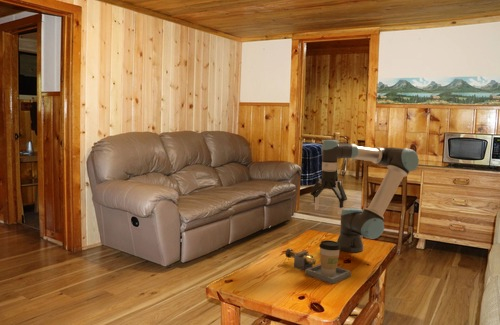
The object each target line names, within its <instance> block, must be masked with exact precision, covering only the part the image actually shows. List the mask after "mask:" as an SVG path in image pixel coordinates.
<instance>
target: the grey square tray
mask: <svg viewBox="0 0 500 325" xmlns="http://www.w3.org/2000/svg"><path fill="white" fill-rule="evenodd" d="M304 273H305V275H306V276H309V277H311V278H313V279H317V280H318V281H322V282H325V283H326V284H329V285H335V284H337V283H339V282H341V281H343V280H346V279H348V278H350V277H351V276H352V271H351V270H348V269H345V268H343V267H339V266H337V268H336V273H335V276H333V277H329V276H326V275H323V274H322V271H321V263H320V264H317V265H313V267H311V268H308V269H306V270H305V272H304Z"/></svg>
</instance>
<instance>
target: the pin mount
mask: <svg viewBox="0 0 500 325" xmlns="http://www.w3.org/2000/svg"><path fill="white" fill-rule="evenodd" d="M301 255H305V256H308V257H311V258H314V255H313V254H309V251H307V250H305V249H304V250H302V251H298V252H296V255H294V258H293V260H294V261H293V267H294V268H295V269H297V270H300V271H302V272H304V271H305V272H306V269H308V268H311V267H313V266H314V265H312V264H310V263H307V262H306V258H305V257H302V256H301Z"/></svg>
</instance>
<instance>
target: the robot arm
mask: <svg viewBox="0 0 500 325" xmlns="http://www.w3.org/2000/svg"><path fill="white" fill-rule="evenodd" d="M320 151H321V153H322V154H321V155H322V158H321V177H319V178H316V180H315V184H314V186H313V188H312V190H311V192H310V196H312V197H313V204H314V210H315V211H317V210H319V209H320V196H319V195H320V194H321V193H322V192H323V190H324V189H328V190H331V191H332V192H333V193H334V194H335V196H336V198H337V212H336V214H337V215H340V225H339V226H340V229H339V236H338V238H337V240H336V242H338V243H339V244H340V247H341V249H340V250H339V251H343V252H347V253H348V252H349V253H360V252H362V251H364V243H363V238H362V237H364V238H366V239H371V240H374V239H377V238H379V237H381V235H382V234H383V233H384V230H385V222H384V220H385V217H384V214H385V212H386V210H387V208H388V206H389V205H390V203H391V201H392V199H393V197H394V196H395V193H396V192H397V189H398V187H399V186H400V184H401V183H402V180H403V179H404V178H405V177H408V175H409V174H410V172H413V171H415V170H416V169H417V168H418V166H419V156H418V153H417V151H415V150H414V149H410V148H407V147H406V148H400V147H392V146H391V147H389V146H388V147H384V146H382V147H380V146H379V147H378V146H375V147H368V146H359V145H357V144H356V143H350V142H349V143H346V142H345V143H343V142H339V140H337V139H324V140H323V141H322V144H321V147H320ZM338 159H351V160H359V161H365V162H366V161H367V162H372V163H373V164H376V165H381V166H385V167H387V172H386V174H385V176H384V177H383V179H382V181H381V182H380V185H379V187H378V189H377V190H376V192H375V194H374V197H373V198H372V200H371V201H370V204H369V206H368V207H365V208H364V209H362V208H354V207H351V208H350V207H349V208H348V207H347V208H344V202H345V201H347V200H348V197H347V194H346V192H345V189H344V186H343V181H341V180H339V181H337V176H338V171H337V170H338Z"/></svg>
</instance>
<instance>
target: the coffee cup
mask: <svg viewBox="0 0 500 325" xmlns="http://www.w3.org/2000/svg"><path fill="white" fill-rule="evenodd" d="M318 246H319V248H320V251H319V254H320V257H319V258H320V259H319V260H320V264H321V271H322V274H323V275H326V276H329V277H333V276H335V273H336V268H337V267H338V262H339V256H340V251H341V250H340V249H341V247H340V244H339V243H338V242H337V240H336V241H335V240H331V239H330V240H325V239H324V240H321V242H320V243H319V245H318Z"/></svg>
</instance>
